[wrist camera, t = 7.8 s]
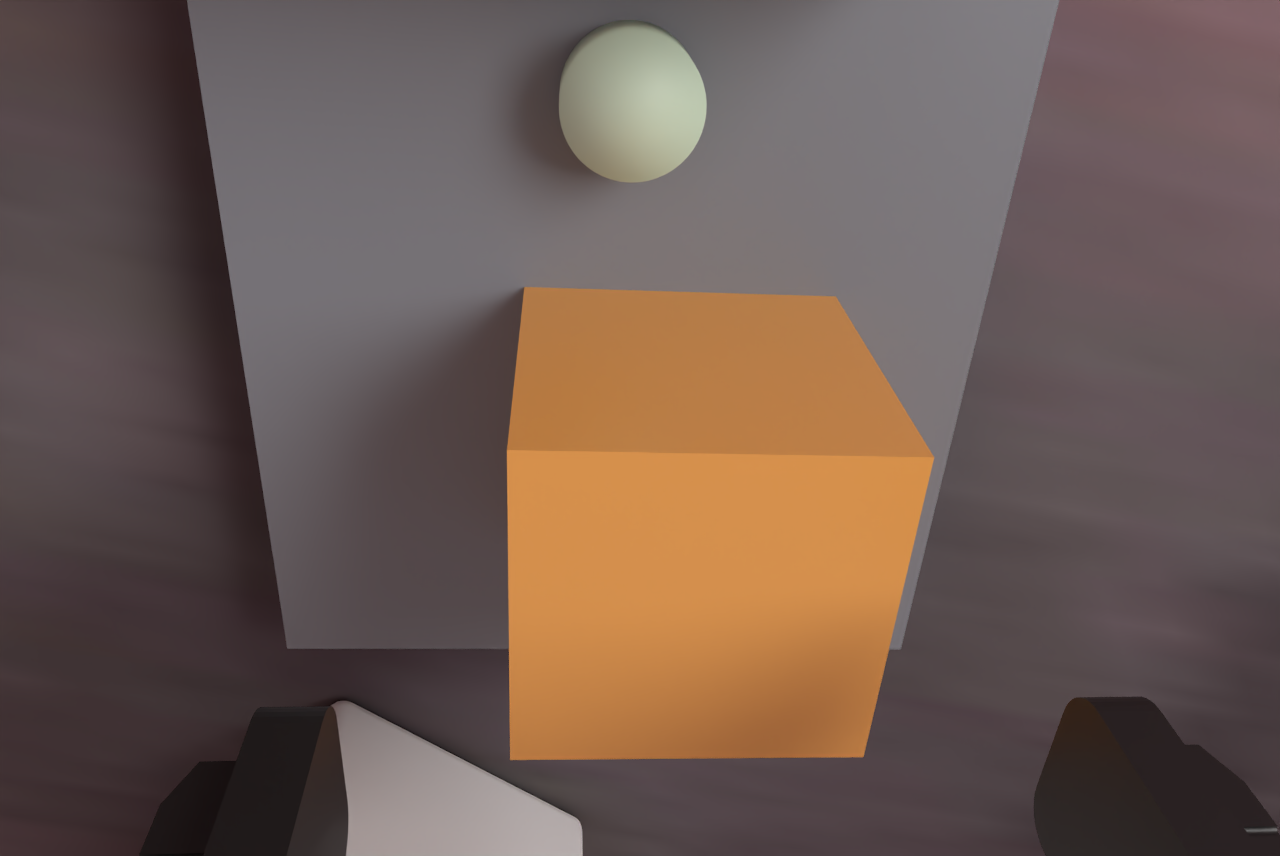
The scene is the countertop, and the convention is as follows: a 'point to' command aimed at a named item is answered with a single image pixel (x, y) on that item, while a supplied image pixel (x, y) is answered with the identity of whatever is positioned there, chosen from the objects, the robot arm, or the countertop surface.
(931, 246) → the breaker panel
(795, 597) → the orange cube
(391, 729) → the medicine bottle
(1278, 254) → the countertop surface
